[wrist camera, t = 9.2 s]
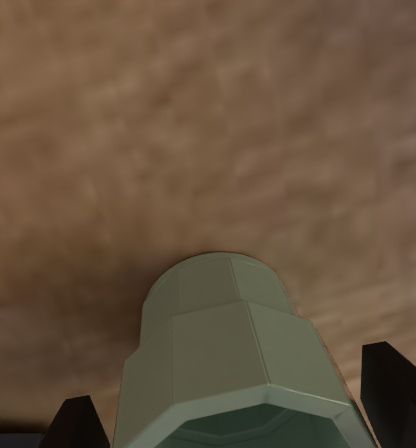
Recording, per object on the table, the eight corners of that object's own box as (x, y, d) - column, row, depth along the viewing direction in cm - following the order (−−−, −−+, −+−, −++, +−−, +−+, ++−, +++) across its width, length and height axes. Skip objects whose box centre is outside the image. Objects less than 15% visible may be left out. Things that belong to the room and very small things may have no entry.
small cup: (316, 242, 12) (412, 385, 8) (280, 377, 15) (336, 549, 10) (133, 232, 12) (110, 385, 7) (129, 376, 14) (110, 561, 9)
